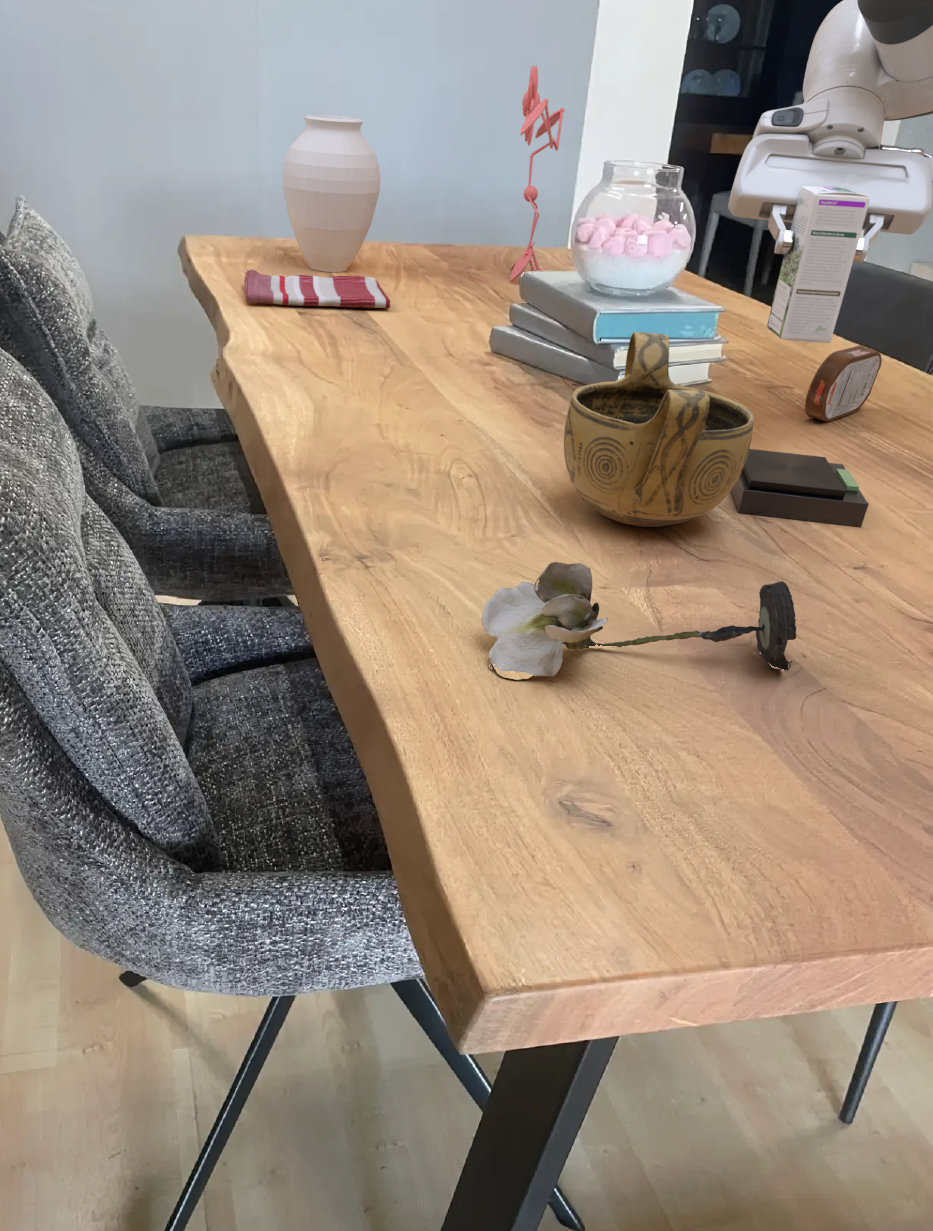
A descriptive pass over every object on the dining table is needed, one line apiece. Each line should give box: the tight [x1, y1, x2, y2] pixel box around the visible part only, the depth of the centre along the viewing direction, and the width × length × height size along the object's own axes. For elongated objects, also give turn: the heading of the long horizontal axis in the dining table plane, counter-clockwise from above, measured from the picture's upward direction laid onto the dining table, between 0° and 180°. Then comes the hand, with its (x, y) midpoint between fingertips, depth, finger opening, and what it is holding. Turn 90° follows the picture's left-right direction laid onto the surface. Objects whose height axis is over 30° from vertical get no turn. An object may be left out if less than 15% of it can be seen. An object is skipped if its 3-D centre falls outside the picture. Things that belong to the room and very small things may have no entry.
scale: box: [730, 448, 869, 528], centre depth 109 cm, size 12×12×3 cm
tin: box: [804, 344, 883, 422], centre depth 135 cm, size 15×3×8 cm, turn 134°
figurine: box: [467, 64, 565, 283], centre depth 195 cm, size 15×26×35 cm, turn 170°
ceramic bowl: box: [563, 331, 755, 528], centre depth 99 cm, size 22×17×15 cm
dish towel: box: [243, 268, 391, 309], centre depth 176 cm, size 17×23×3 cm
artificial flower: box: [481, 561, 797, 677], centre depth 76 cm, size 9×22×10 cm, turn 89°
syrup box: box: [766, 186, 870, 344], centre depth 112 cm, size 6×6×14 cm
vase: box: [282, 113, 381, 273], centre depth 193 cm, size 18×18×25 cm
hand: (819, 254), depth 111 cm, fingers closed on syrup box, 6 cm apart
